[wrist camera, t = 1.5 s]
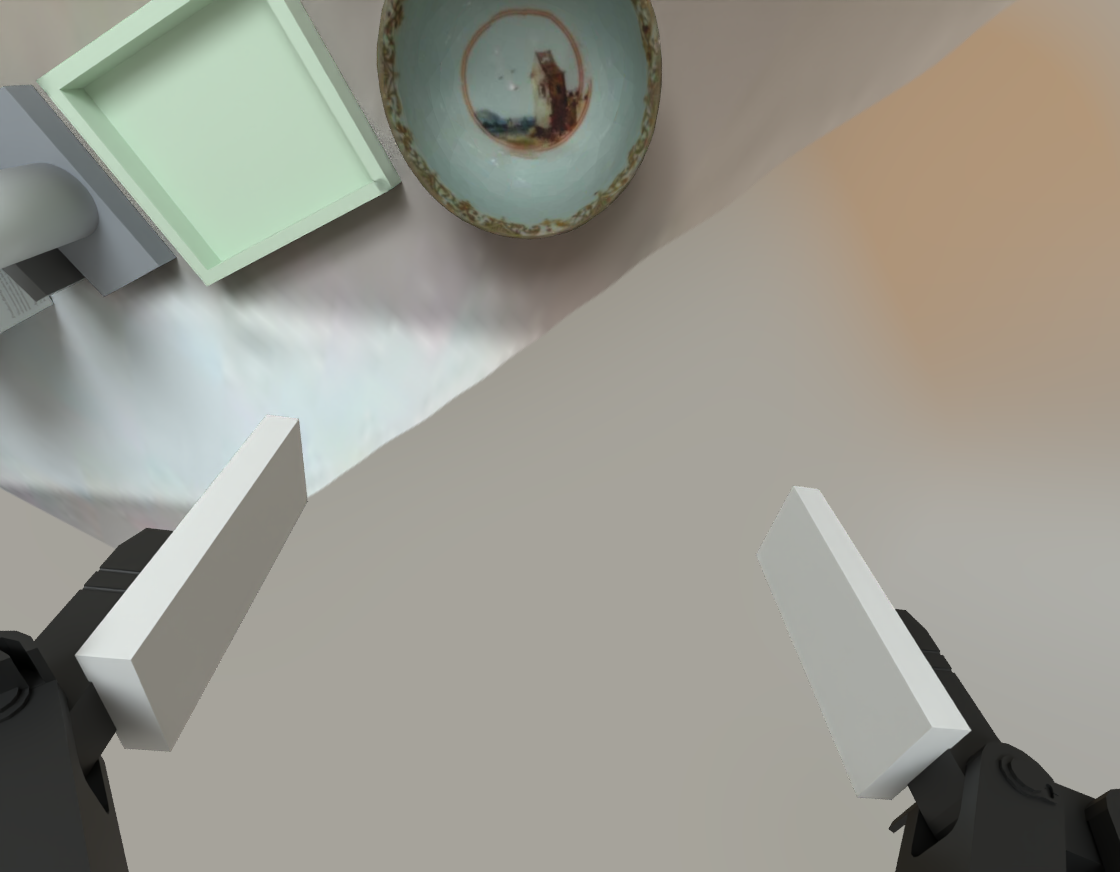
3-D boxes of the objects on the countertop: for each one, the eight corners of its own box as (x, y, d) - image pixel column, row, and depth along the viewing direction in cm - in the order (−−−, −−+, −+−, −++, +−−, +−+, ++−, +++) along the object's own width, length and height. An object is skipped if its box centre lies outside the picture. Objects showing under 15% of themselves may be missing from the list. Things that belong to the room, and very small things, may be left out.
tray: (68, 79, 32) (35, 80, 30) (267, -56, 29) (246, -66, 27) (225, 274, 39) (207, 286, 36) (401, 181, 35) (392, 188, 33)
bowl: (669, 154, 35) (697, 175, 28) (481, 240, 38) (466, 278, 31) (591, -123, 28) (604, -182, 21) (366, 9, 30) (315, -6, 24)
